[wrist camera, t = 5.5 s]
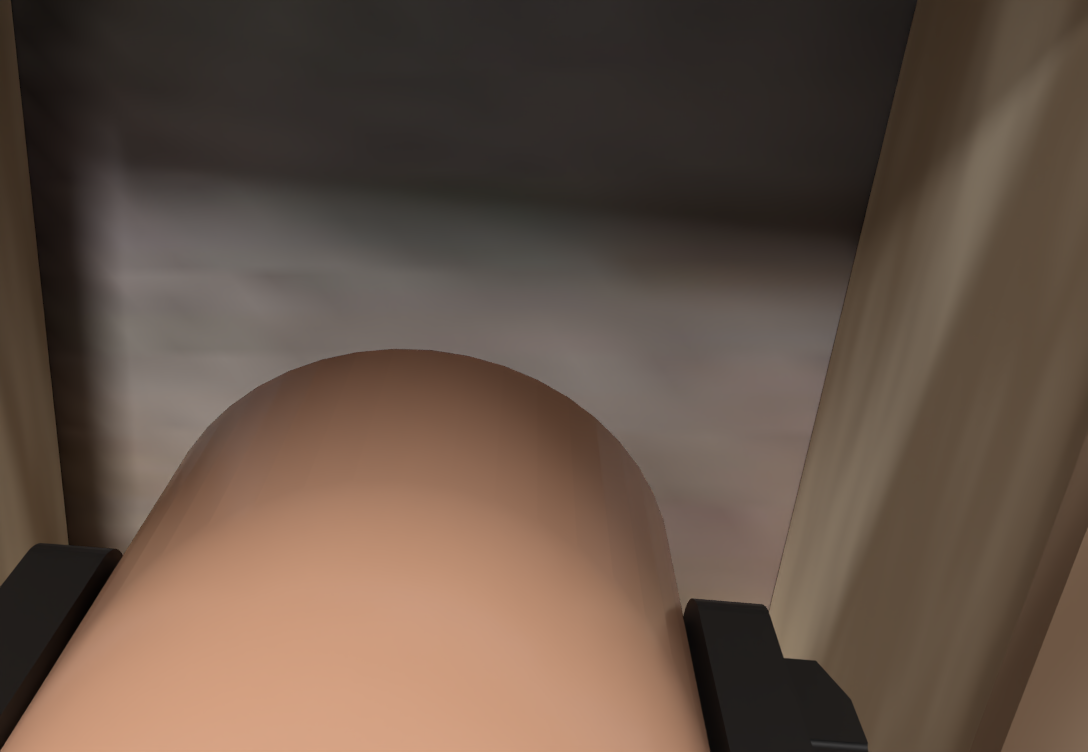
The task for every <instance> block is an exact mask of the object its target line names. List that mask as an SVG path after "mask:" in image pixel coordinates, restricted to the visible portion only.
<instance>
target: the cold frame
mask: <svg viewBox="0 0 1088 752" xmlns="http://www.w3.org/2000/svg"><path fill="white" fill-rule="evenodd" d="M38 543H48V544H60V545H69V543H68V534H67V524H66V515H65V506H64V496H63V487H62V477H61V468H60V459H59V449H58V440H57V430H56V421H55V412H54V402H53V393H52V383H51V374H50V365H49V355H48V346H47V336H46V327H45V318H44V308H43V299H42V289H41V280H40V271H39V261H38V252H37V242H36V233H35V224H34V214H33V205H32V195H31V186H30V177H29V167H28V158H27V148H26V139H25V130H24V120H23V111H22V101H21V92H20V83H19V73H18V64H17V54H16V45H15V36H14V26H13V17H12V7H11V0H0V586H1V585H2V584H3V582H4V581H5V580H6V579H7V577H8V576H9V575H10V573H11V572H12V571H13V570H14V568H15V567H16V566H17V564H18V563H19V562H20V561H21V559H22V558H23V557H24V555H25V554H26V553H27V552H28V551H29V549H30V548H31V547H33V546H34V545H35V544H38ZM769 614H770V617H771V620H772V623H773V626H774V629H775V632H776V635H777V638H778V642H779V645H780V648H781V651H782V654H783V657H784V658H791V659H803V660H816V661H817V662H818V663H819V665H820V666H821V667H822V668H823V669H824V670H825V671H826V672H827V673H828V674H829V676H830V677H831V678H832V679H833V680H834V681H835V682H836V683H837V684H838V686H839V687H840V688H841V689H842V690H843V691H844V692H845V693H846V694H847V695H848V697H849V698H850V699H851V700H852V703H853V706H854V708H855V711H856V713H857V716H858V718H859V721H860V723H861V726H862V729H863V731H864V734H865V736H866V739H867V741H868V752H1088V0H917V5H916V9H915V13H914V17H913V21H912V25H911V29H910V33H909V38H908V42H907V46H906V50H905V54H904V58H903V62H902V66H901V70H900V75H899V79H898V83H897V87H896V91H895V95H894V99H893V103H892V108H891V112H890V116H889V120H888V124H887V128H886V132H885V136H884V140H883V145H882V149H881V153H880V157H879V161H878V165H877V169H876V173H875V177H874V182H873V186H872V190H871V194H870V198H869V202H868V206H867V210H866V215H865V219H864V223H863V227H862V231H861V235H860V239H859V243H858V247H857V252H856V256H855V260H854V264H853V268H852V272H851V276H850V280H849V284H848V289H847V293H846V297H845V301H844V305H843V309H842V313H841V317H840V322H839V326H838V330H837V334H836V338H835V342H834V346H833V350H832V354H831V359H830V363H829V367H828V371H827V375H826V379H825V383H824V387H823V392H822V396H821V400H820V404H819V408H818V412H817V416H816V420H815V424H814V429H813V433H812V437H811V441H810V445H809V449H808V453H807V457H806V461H805V466H804V470H803V474H802V478H801V482H800V486H799V490H798V494H797V499H796V503H795V507H794V511H793V515H792V519H791V523H790V527H789V531H788V536H787V540H786V544H785V548H784V552H783V556H782V560H781V564H780V569H779V573H778V577H777V581H776V585H775V589H774V593H773V597H772V601H771V606H770V610H769Z"/></svg>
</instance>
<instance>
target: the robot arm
mask: <svg viewBox="0 0 1088 752" xmlns="http://www.w3.org/2000/svg"><path fill="white" fill-rule="evenodd" d="M122 556H123V555H122V553H121V552H120V551H119V550H117V549H108V548H96V547H84V546H72V545H60V544H48V543H38V544H35V545H34V546H33V547H31V548H30V549H29V551H28V552H27V553H26V554H25V555H24V557H23V558H22V559H21V561H20V562H19V563H18V564H17V566H16V567H15V568H14V570H13V571H12V572H11V573H10V575H9V576H8V577H7V579H6V580H5V581H4V582H3V584H2V585H1V586H0V751H1V749H2V747H3V746H4V744H5V743H6V741H7V739H8V738H9V736H10V735H11V733H12V731H13V730H14V728H15V727H16V725H17V723H18V722H19V720H20V719H21V717H22V716H23V714H24V712H25V711H26V709H27V708H28V706H29V704H30V703H31V701H32V700H33V698H34V696H35V695H36V693H37V692H38V690H39V688H40V687H41V685H42V684H43V682H44V680H45V679H46V677H47V676H48V674H49V673H50V671H51V669H52V668H53V666H54V665H55V663H56V661H57V660H58V658H59V657H60V655H61V653H62V652H63V650H64V649H65V647H66V645H67V644H68V642H69V641H70V639H71V638H72V636H73V634H74V633H75V631H76V630H77V628H78V626H79V625H80V623H81V622H82V620H83V618H84V617H85V615H86V614H87V612H88V610H89V609H90V607H91V606H92V604H93V603H94V601H95V599H96V598H97V596H98V595H99V593H100V591H101V590H102V588H103V587H104V585H105V583H106V582H107V580H108V579H109V577H110V575H111V574H112V572H113V571H114V569H115V568H116V566H117V564H118V563H119V561H120V560H121V558H122ZM683 618H684V623H685V628H686V633H687V638H688V643H689V648H690V653H691V658H692V663H693V668H694V672H695V677H696V682H697V687H698V692H699V697H700V702H701V707H702V712H703V717H704V722H705V727H706V732H707V737H708V742H709V747H710V752H868V741H867V739H866V736H865V734H864V731H863V729H862V726H861V723H860V721H859V718H858V716H857V713H856V711H855V708H854V706H853V703H852V700H851V699H850V698H849V697H848V695H847V694H846V693H845V692H844V691H843V690H842V689H841V688H840V687H839V686H838V684H837V683H836V682H835V681H834V680H833V679H832V678H831V677H830V676H829V674H828V673H827V672H826V671H825V670H824V669H823V668H822V667H821V666H820V665H819V663H818V662H817V661H816V660H803V659H791V658H784V657H783V654H782V651H781V648H780V645H779V642H778V638H777V635H776V632H775V629H774V626H773V623H772V620H771V617H770V614H769V612H768V609H767V608H766V606H764V605H762V604H752V603H740V602H728V601H716V600H704V599H690V600H689V602H688V603H687V606H686V609H685V612H684V616H683Z"/></svg>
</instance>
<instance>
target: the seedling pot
mask: <svg viewBox="0 0 1088 752" xmlns="http://www.w3.org/2000/svg"><path fill="white" fill-rule="evenodd" d="M0 752H710V747H709V742H708V737H707V732H706V727H705V722H704V717H703V712H702V707H701V702H700V697H699V692H698V687H697V682H696V677H695V672H694V668H693V663H692V658H691V653H690V648H689V643H688V638H687V633H686V628H685V623H684V618H683V613H682V608H681V603H680V598H679V593H678V588H677V583H676V578H675V574H674V569H673V564H672V559H671V554H670V549H669V544H668V539H667V534H666V529H665V525H664V520H663V518H662V515H661V512H660V510H659V507H658V504H657V502H656V499H655V496H654V494H653V492H652V490H651V488H650V486H649V485H648V483H647V481H646V479H645V477H644V476H643V474H642V472H641V470H640V468H639V467H638V465H637V464H636V463H635V461H634V460H633V459H632V457H631V456H630V455H629V454H628V452H627V451H626V450H625V448H624V447H623V446H622V444H621V443H620V442H619V441H618V440H617V439H616V438H615V437H614V436H613V435H612V434H611V433H610V432H609V431H608V430H607V429H606V428H605V427H604V426H603V425H602V424H601V423H600V422H599V421H598V420H597V419H596V418H595V417H593V416H592V415H591V414H589V413H588V412H587V411H585V410H584V409H583V408H581V407H580V406H579V405H578V404H576V403H575V402H574V401H572V400H571V399H570V398H568V397H567V396H565V395H563V394H561V393H559V392H558V391H556V390H554V389H552V388H551V387H549V386H547V385H545V384H544V383H542V382H540V381H538V380H536V379H534V378H532V377H529V376H527V375H524V374H522V373H520V372H517V371H515V370H512V369H510V368H508V367H505V366H502V365H499V364H495V363H492V362H488V361H484V360H481V359H477V358H474V357H470V356H465V355H459V354H452V353H446V352H439V351H433V350H410V349H388V350H376V351H365V352H356V353H351V354H346V355H341V356H337V357H332V358H327V359H323V360H319V361H317V362H314V363H311V364H308V365H305V366H302V367H299V368H296V369H294V370H291V371H288V372H286V373H284V374H282V375H280V376H278V377H276V378H274V379H272V380H270V381H268V382H266V383H264V384H262V385H260V386H258V387H257V388H255V389H254V390H253V391H251V392H250V393H248V394H247V395H245V396H244V397H242V398H241V399H240V400H238V401H237V402H235V403H234V404H232V405H231V406H230V407H229V408H228V409H227V410H225V411H224V412H223V413H222V414H221V415H220V416H219V417H218V418H217V419H216V420H215V421H214V422H213V423H212V424H211V425H209V426H208V427H207V429H206V430H205V431H204V432H203V434H202V435H201V436H200V437H199V439H198V440H197V441H196V443H195V444H194V445H193V446H192V448H191V449H190V450H189V451H188V453H187V455H186V456H185V458H184V459H183V461H182V462H181V464H180V466H179V467H178V469H177V470H176V472H175V474H174V475H173V477H172V478H171V480H170V482H169V483H168V485H167V486H166V488H165V490H164V491H163V493H162V494H161V496H160V497H159V499H158V501H157V502H156V504H155V505H154V507H153V509H152V510H151V512H150V513H149V515H148V517H147V518H146V520H145V521H144V523H143V525H142V526H141V528H140V529H139V531H138V532H137V534H136V536H135V537H134V539H133V540H132V542H131V544H130V545H129V547H128V548H127V550H126V552H125V553H124V555H123V556H122V558H121V560H120V561H119V563H118V564H117V566H116V568H115V569H114V571H113V572H112V574H111V575H110V577H109V579H108V580H107V582H106V583H105V585H104V587H103V588H102V590H101V591H100V593H99V595H98V596H97V598H96V599H95V601H94V603H93V604H92V606H91V607H90V609H89V610H88V612H87V614H86V615H85V617H84V618H83V620H82V622H81V623H80V625H79V626H78V628H77V630H76V631H75V633H74V634H73V636H72V638H71V639H70V641H69V642H68V644H67V645H66V647H65V649H64V650H63V652H62V653H61V655H60V657H59V658H58V660H57V661H56V663H55V665H54V666H53V668H52V669H51V671H50V673H49V674H48V676H47V677H46V679H45V680H44V682H43V684H42V685H41V687H40V688H39V690H38V692H37V693H36V695H35V696H34V698H33V700H32V701H31V703H30V704H29V706H28V708H27V709H26V711H25V712H24V714H23V716H22V717H21V719H20V720H19V722H18V723H17V725H16V727H15V728H14V730H13V731H12V733H11V735H10V736H9V738H8V739H7V741H6V743H5V744H4V746H3V747H2V749H1V751H0Z"/></svg>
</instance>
